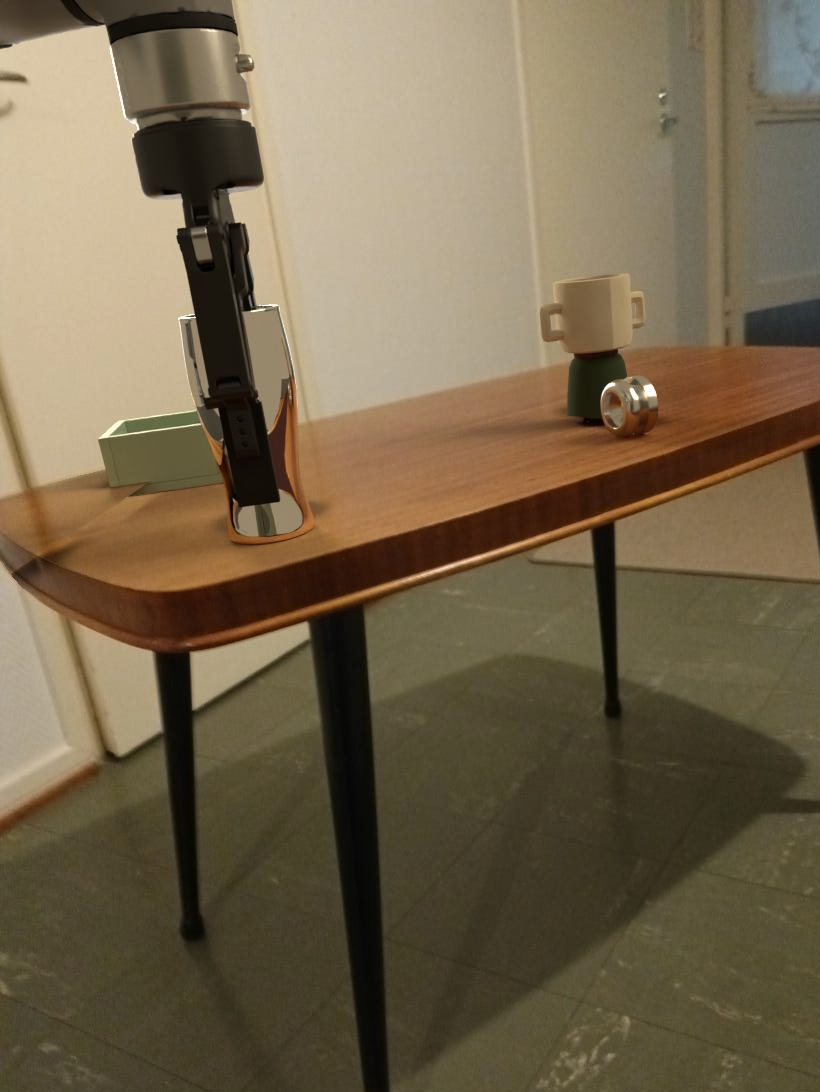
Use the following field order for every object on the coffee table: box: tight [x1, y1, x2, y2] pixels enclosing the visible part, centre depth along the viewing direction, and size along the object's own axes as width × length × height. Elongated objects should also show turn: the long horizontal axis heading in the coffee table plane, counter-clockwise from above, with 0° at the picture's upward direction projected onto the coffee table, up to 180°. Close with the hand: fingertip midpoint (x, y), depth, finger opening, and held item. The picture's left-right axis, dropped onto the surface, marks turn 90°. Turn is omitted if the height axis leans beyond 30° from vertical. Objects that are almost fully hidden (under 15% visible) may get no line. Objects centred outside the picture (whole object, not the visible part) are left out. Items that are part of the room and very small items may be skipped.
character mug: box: [539, 273, 647, 423], centre depth 93 cm, size 11×7×13 cm, turn 112°
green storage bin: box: [97, 409, 223, 498], centre depth 90 cm, size 10×10×5 cm
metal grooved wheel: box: [600, 374, 659, 438], centre depth 86 cm, size 5×3×5 cm, turn 27°
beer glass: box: [177, 304, 316, 545], centre depth 67 cm, size 7×7×15 cm
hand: (264, 490), depth 69 cm, fingers closed on beer glass, 7 cm apart
